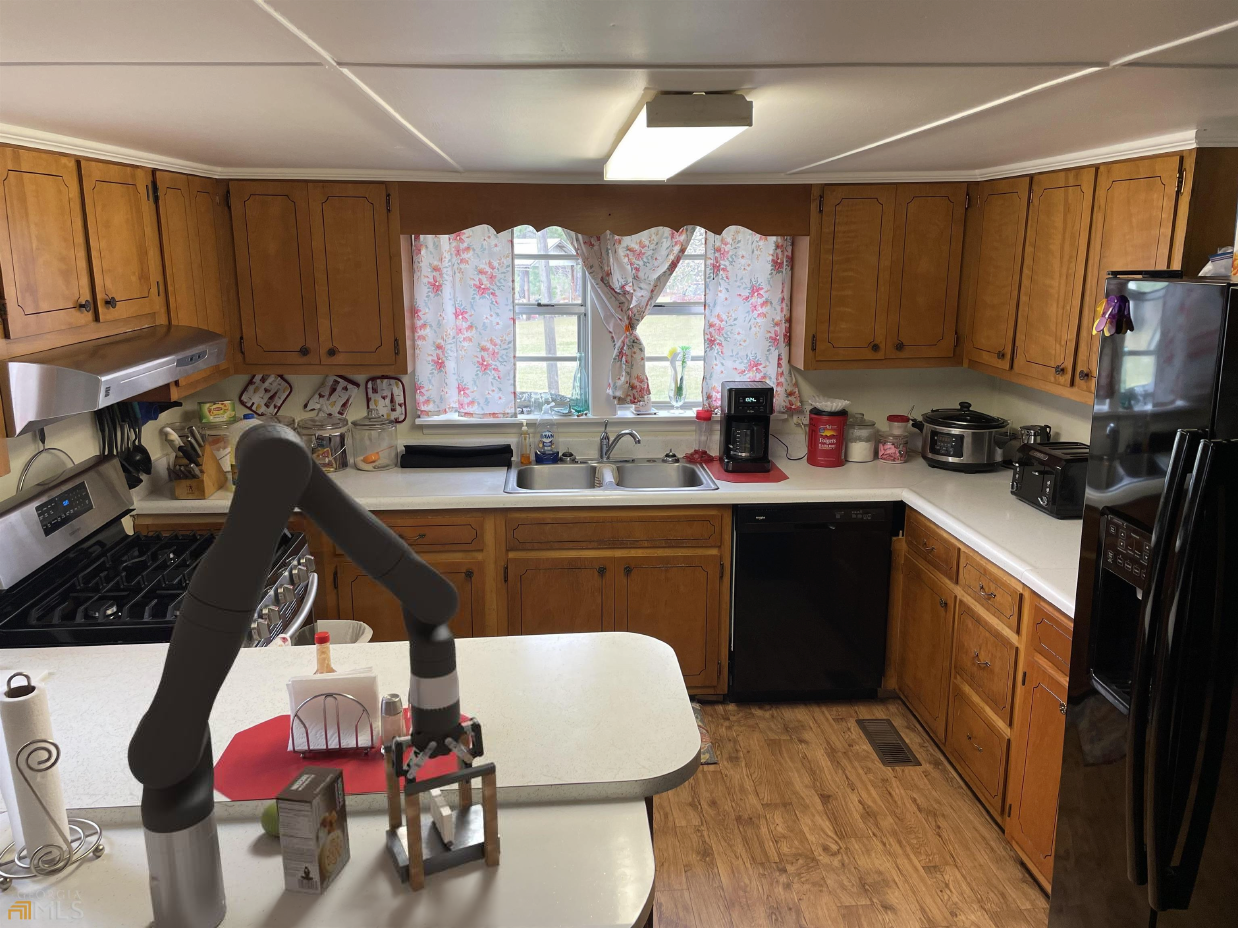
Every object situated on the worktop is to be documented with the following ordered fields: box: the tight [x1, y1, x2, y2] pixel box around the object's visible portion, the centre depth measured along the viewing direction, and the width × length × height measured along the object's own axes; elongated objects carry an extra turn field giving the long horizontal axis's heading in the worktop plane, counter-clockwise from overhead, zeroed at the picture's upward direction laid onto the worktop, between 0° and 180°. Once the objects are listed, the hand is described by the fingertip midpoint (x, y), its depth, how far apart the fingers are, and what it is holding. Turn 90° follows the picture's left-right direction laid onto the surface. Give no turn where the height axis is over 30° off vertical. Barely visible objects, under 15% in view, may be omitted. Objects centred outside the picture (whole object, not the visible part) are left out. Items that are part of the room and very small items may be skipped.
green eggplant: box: [260, 801, 280, 837], centre depth 150 cm, size 6×5×10 cm
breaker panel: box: [385, 803, 501, 884], centre depth 146 cm, size 16×10×3 cm, turn 117°
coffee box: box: [275, 765, 351, 895], centre depth 139 cm, size 9×6×16 cm
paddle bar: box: [429, 788, 454, 848], centre depth 145 cm, size 1×9×6 cm, turn 27°
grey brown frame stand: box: [383, 733, 500, 893], centre depth 144 cm, size 14×15×16 cm
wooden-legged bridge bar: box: [382, 731, 467, 753], centre depth 148 cm, size 14×1×1 cm, turn 117°
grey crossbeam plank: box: [403, 761, 497, 796], centre depth 136 cm, size 14×1×1 cm, turn 117°
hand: (439, 788), depth 144 cm, fingers open, 8 cm apart
